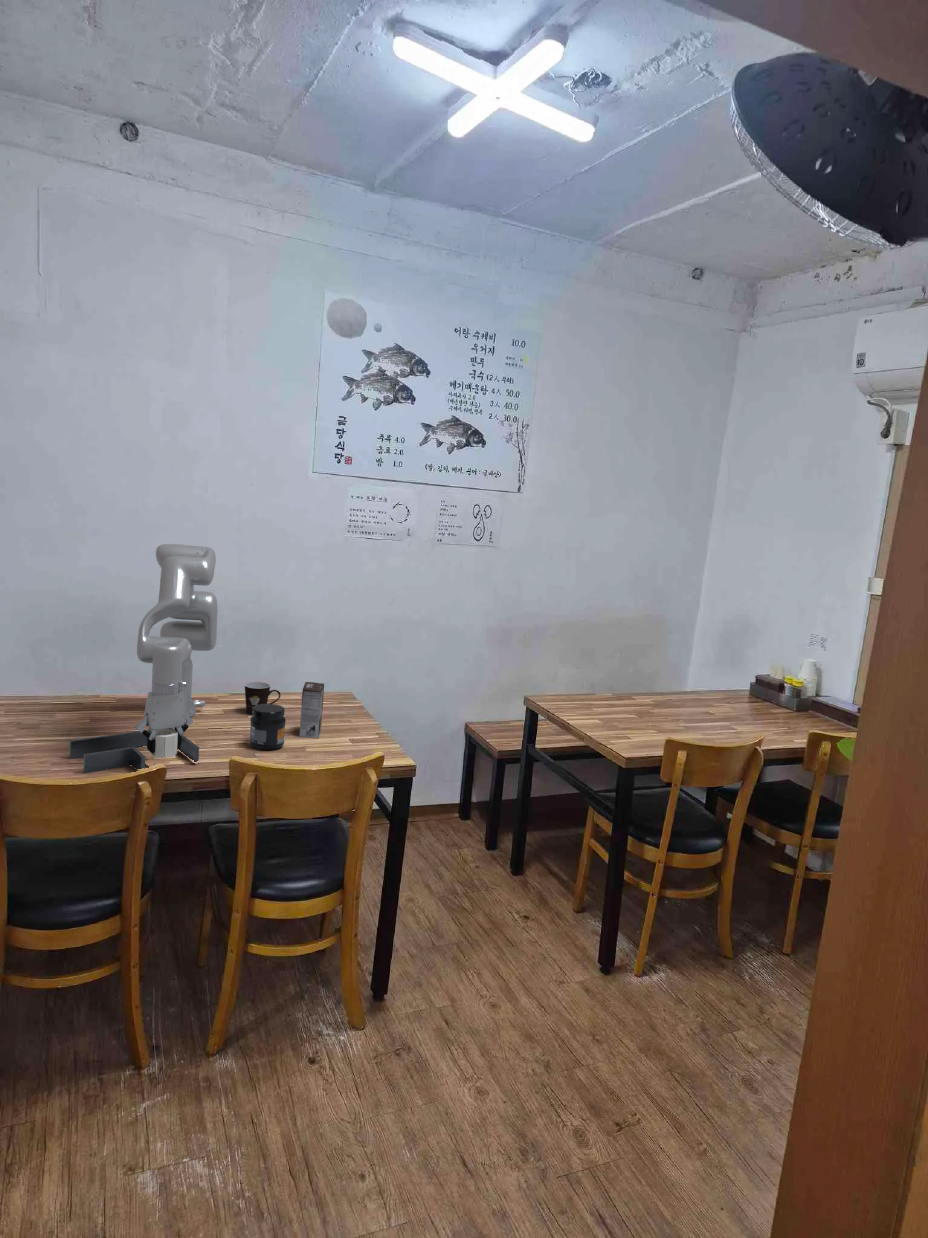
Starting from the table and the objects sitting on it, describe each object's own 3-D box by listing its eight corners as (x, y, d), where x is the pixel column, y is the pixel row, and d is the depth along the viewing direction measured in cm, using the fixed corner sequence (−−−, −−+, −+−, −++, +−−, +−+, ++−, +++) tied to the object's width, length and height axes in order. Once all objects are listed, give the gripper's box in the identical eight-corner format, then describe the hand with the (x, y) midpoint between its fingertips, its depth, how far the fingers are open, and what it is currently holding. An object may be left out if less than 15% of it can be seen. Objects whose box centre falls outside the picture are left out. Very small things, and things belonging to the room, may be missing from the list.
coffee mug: (237, 713, 264) (239, 685, 263) (253, 707, 272) (255, 680, 271) (265, 720, 260) (267, 691, 259) (280, 714, 268) (282, 686, 266)
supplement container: (289, 743, 241) (292, 706, 239) (274, 753, 231) (276, 715, 229) (259, 737, 243) (261, 701, 241) (242, 747, 233) (244, 709, 231)
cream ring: (170, 748, 219) (171, 727, 218) (180, 755, 214) (180, 734, 213) (148, 751, 214) (148, 731, 213) (157, 759, 210) (157, 738, 209)
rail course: (170, 742, 231) (170, 726, 230) (198, 764, 217) (199, 747, 216) (69, 757, 212) (69, 740, 211) (93, 782, 198) (93, 764, 197)
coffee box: (302, 728, 256) (305, 681, 253) (321, 729, 257) (325, 682, 254) (298, 737, 247) (301, 688, 244) (318, 738, 248) (322, 690, 245)
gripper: (191, 681, 220) (188, 741, 223) (129, 687, 208) (127, 750, 211) (202, 688, 214) (199, 749, 217) (139, 695, 202) (137, 759, 205)
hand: (164, 749), depth 214 cm, fingers closed on cream ring, 6 cm apart
